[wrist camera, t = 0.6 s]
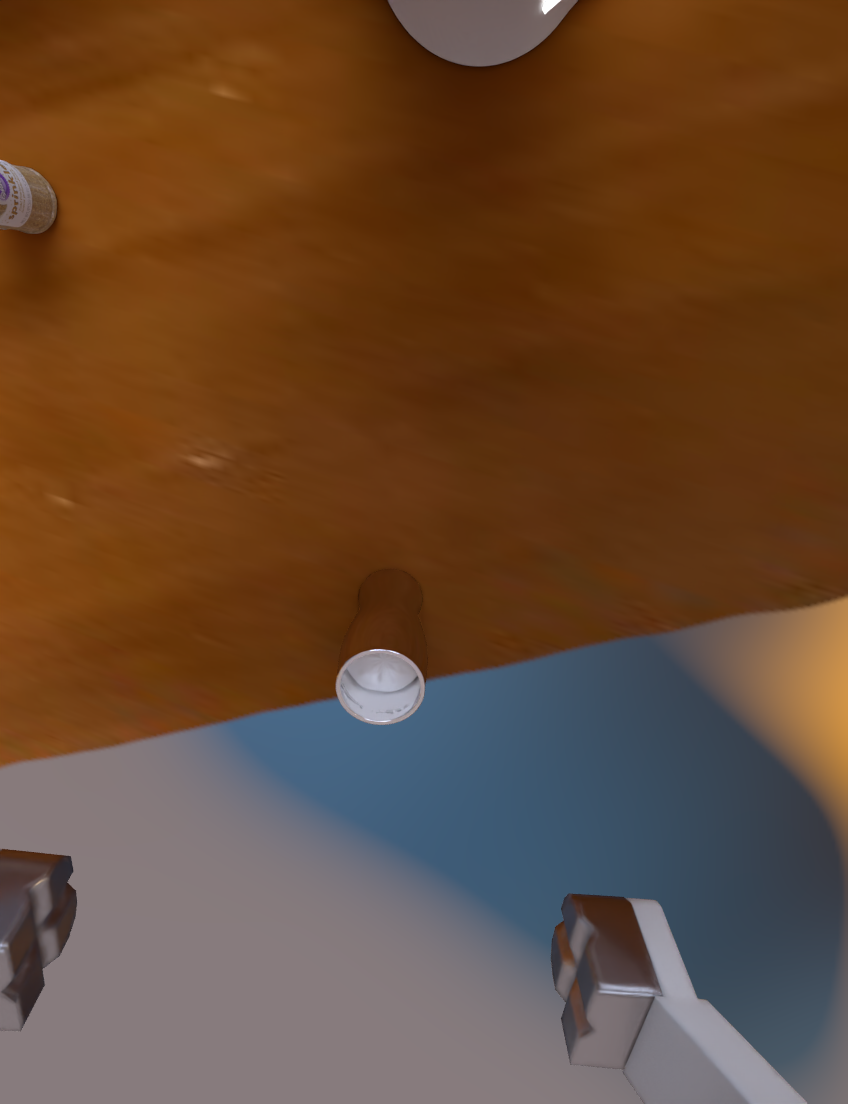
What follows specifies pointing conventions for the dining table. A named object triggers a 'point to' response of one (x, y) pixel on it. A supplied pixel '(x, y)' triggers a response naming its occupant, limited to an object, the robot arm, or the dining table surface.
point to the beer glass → (384, 651)
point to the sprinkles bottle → (25, 200)
